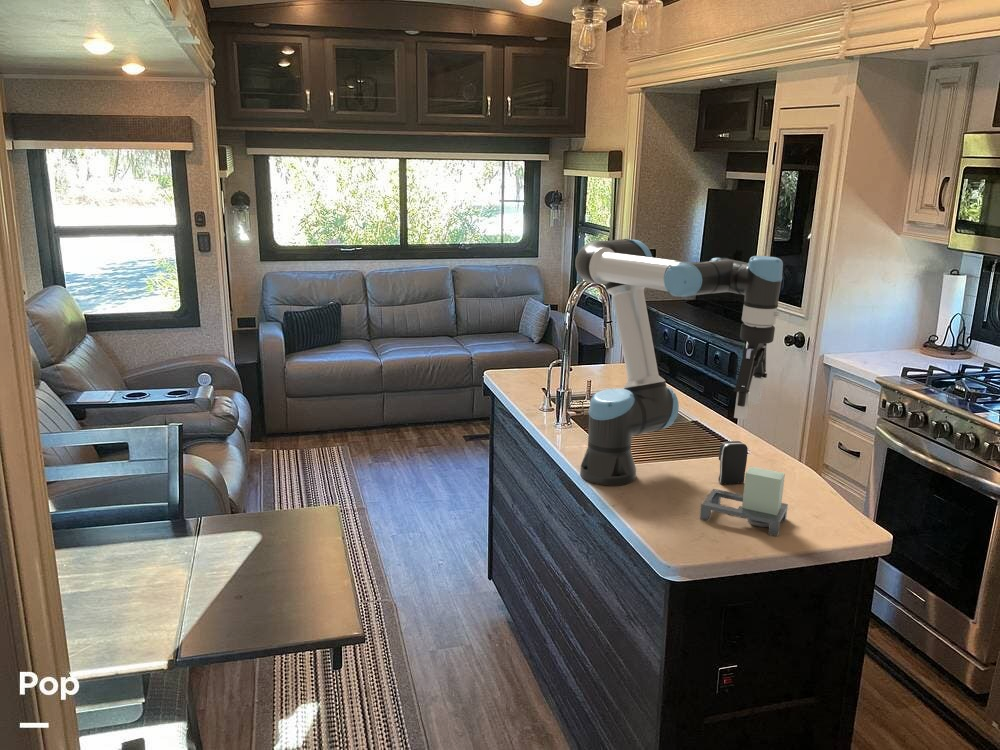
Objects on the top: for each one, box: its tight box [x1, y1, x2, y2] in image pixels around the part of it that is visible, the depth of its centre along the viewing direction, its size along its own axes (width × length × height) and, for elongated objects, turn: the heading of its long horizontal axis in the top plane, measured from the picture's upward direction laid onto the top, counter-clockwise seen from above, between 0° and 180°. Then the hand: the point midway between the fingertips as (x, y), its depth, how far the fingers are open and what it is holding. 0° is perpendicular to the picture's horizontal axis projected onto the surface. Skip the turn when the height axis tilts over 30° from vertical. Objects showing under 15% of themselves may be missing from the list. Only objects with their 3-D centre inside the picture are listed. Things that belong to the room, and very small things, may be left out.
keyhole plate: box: [699, 488, 789, 537], centre depth 189 cm, size 18×11×4 cm, turn 60°
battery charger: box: [718, 440, 749, 485], centre depth 210 cm, size 7×4×11 cm, turn 100°
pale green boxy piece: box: [741, 466, 786, 528], centre depth 186 cm, size 8×6×12 cm
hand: (747, 410), depth 188 cm, fingers open, 13 cm apart
